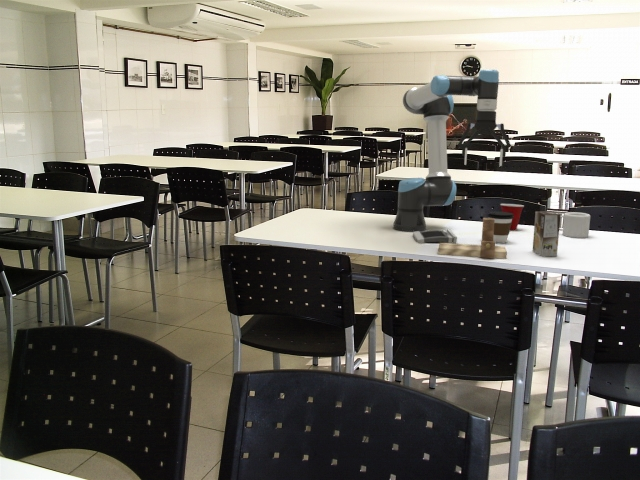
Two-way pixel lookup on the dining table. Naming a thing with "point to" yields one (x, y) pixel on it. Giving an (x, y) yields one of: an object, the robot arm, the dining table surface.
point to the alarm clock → (435, 236)
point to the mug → (576, 225)
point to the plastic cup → (515, 211)
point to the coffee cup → (501, 225)
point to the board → (468, 250)
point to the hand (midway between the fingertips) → (482, 165)
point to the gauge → (487, 239)
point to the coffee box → (546, 233)
